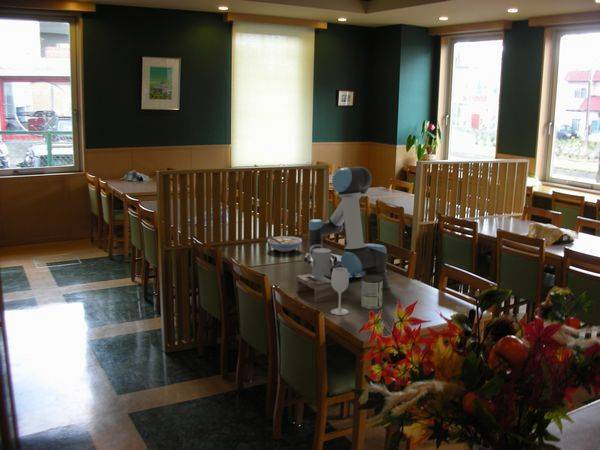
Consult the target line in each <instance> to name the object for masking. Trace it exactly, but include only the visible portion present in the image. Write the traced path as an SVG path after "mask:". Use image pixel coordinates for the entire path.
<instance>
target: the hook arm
mask: <svg viewBox="0 0 600 450" xmlns="http://www.w3.org/2000/svg"><path fill="white" fill-rule="evenodd" d="M310 280H311V281H313V282H315V283H317V284H321V283H329V282H331V280H329V279H327V278H325V277H324V276H315V275H314V276H310Z"/></svg>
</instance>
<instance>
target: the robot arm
mask: <svg viewBox="0 0 600 450" xmlns="http://www.w3.org/2000/svg"><path fill="white" fill-rule="evenodd" d="M372 178H373V177H372V174H371V172H370V171H369V169H367V168H366V167H364V166H352V167H343V168H338V169H337V170H336V171H335V172H334V174H333V176H332V179H331V185H332V187H333V189H334V190H335V191H336V192H337V195H338V197H340V198H341V200H340V203H339V204H338V206H337V207H336V208H335V210H334V212H333V213H332V215H331V216H330V217H329V219H328V220H327V221H323V220H322V219H315V218H314V219H310V220H309V224H308V244H307V250H308V251H309V252H306V253H305V256H304V257H303V258H304V263H307V264H308V265H311V267H312V266H313V259H312V253H313V251H312V250H313V249H315V248H324V247H323V237H325V236H330V235H336V234H339V233H341V232H343V229H344V230H345V240H346V245H345V247H343V249H344V253H342V255H341V257H340V262H341V266H342V268H346V269H347V271H348V274H351V275H352V274H353V275H354V274H360V273H363V274H362V276H365V275H378V276H381V277H383V283H382V291H386V290H388V289H389V288H390V283H389V279H388V276H387V255H388V252H387V247H386V246H385V245H383V244H379V243H378V244H377V243H365V242H364V235H363V226H362V225H363V224H362V217H361V209H360V208H361V207H360V199H361V197H362V196H363V195H364V194H366V193H367V192H368V191H369V189H370V187H371V185H372V180H373V179H372ZM337 262H338V256H336V255H335V254H333V253H332V252H331V266H332V267H333V266H334V263H337ZM360 288H361V289H362V279H361V278H360Z"/></svg>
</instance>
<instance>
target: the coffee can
mask: <svg viewBox="0 0 600 450" xmlns="http://www.w3.org/2000/svg"><path fill="white" fill-rule="evenodd" d="M361 279H362V288H361V296H360V299H361V300H360V302H361V303H360V306H361V307H362V308H365V309H369V310H370V309H371V310H375V309H380V308H382V307H383V290H382V283H383V277H381V276H378V275H365V276H363V275H362V276H361V278H360V280H361Z"/></svg>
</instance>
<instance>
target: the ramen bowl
mask: <svg viewBox="0 0 600 450" xmlns="http://www.w3.org/2000/svg"><path fill="white" fill-rule="evenodd" d="M266 238H268V239H267V242H268V244H269V245H270V247H271V248H272V249H273V250H276V251H278V252H281V253H289V252H291V251H293V250H296V249H297V248H298V247H299V246H300V244H301V243H302V241H303V240H302V238H300V237H298V236H297V237H296V236H284V235H283V236H274V237H273V236H271V235H267V236H266Z"/></svg>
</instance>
